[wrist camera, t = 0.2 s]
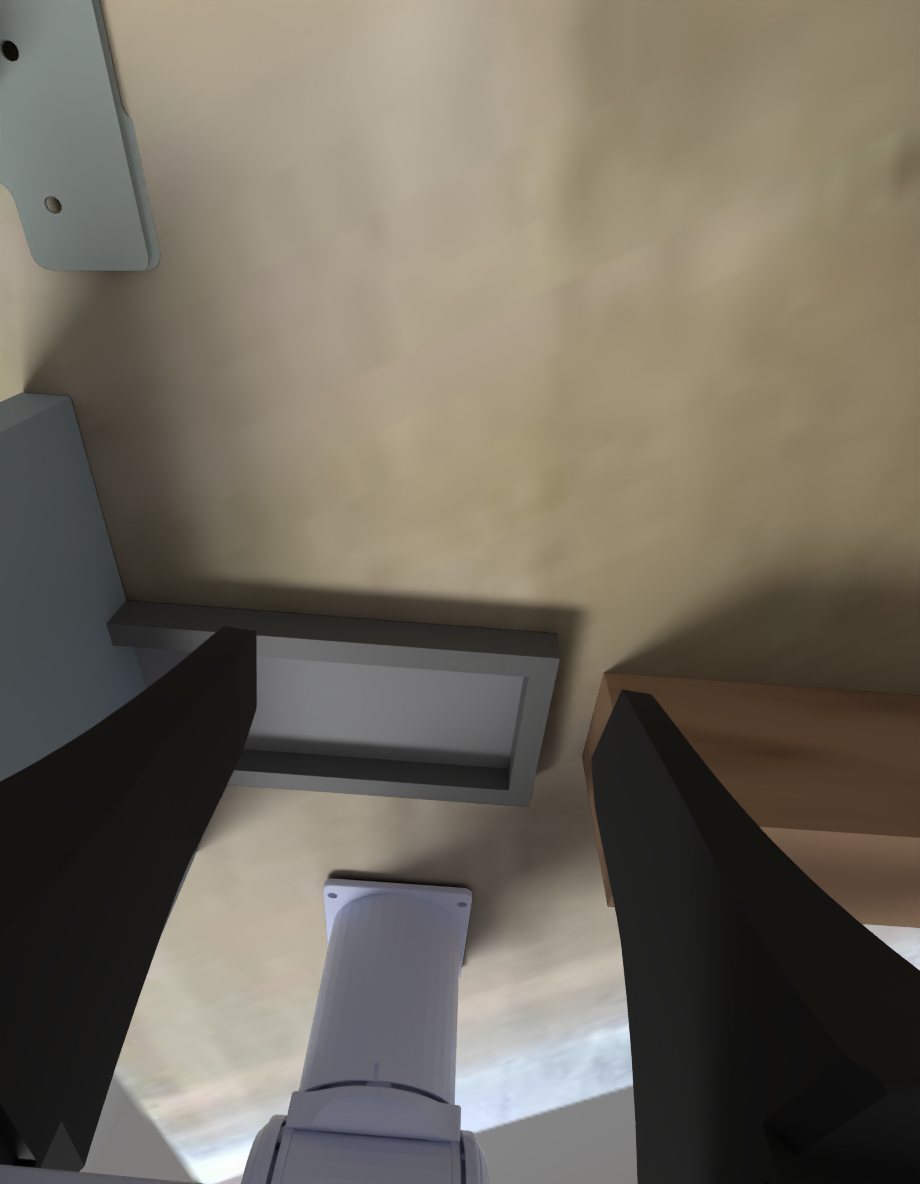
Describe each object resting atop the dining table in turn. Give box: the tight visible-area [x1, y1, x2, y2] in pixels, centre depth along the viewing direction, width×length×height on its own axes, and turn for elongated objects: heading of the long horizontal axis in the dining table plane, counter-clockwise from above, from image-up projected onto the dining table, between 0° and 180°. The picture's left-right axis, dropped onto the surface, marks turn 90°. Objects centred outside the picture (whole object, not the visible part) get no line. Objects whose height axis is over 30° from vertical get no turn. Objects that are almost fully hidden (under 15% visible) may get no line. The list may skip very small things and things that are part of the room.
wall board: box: [0, 393, 560, 932], centre depth 22 cm, size 24×18×9 cm
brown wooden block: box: [582, 672, 920, 928], centre depth 24 cm, size 5×14×7 cm, turn 86°
